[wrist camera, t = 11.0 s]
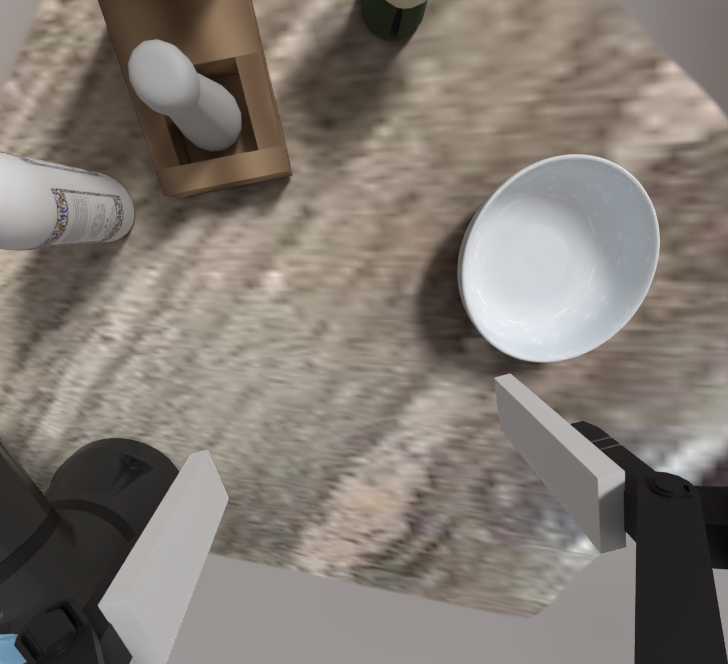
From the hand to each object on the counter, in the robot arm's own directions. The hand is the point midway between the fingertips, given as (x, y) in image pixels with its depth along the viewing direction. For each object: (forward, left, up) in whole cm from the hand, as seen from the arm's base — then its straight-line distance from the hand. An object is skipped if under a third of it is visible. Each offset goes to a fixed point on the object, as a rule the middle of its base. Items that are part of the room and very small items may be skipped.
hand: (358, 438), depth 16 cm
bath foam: (-23, +15, -28) cm, 39 cm away
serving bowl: (+23, +1, -28) cm, 36 cm away
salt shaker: (-9, +21, -28) cm, 36 cm away
